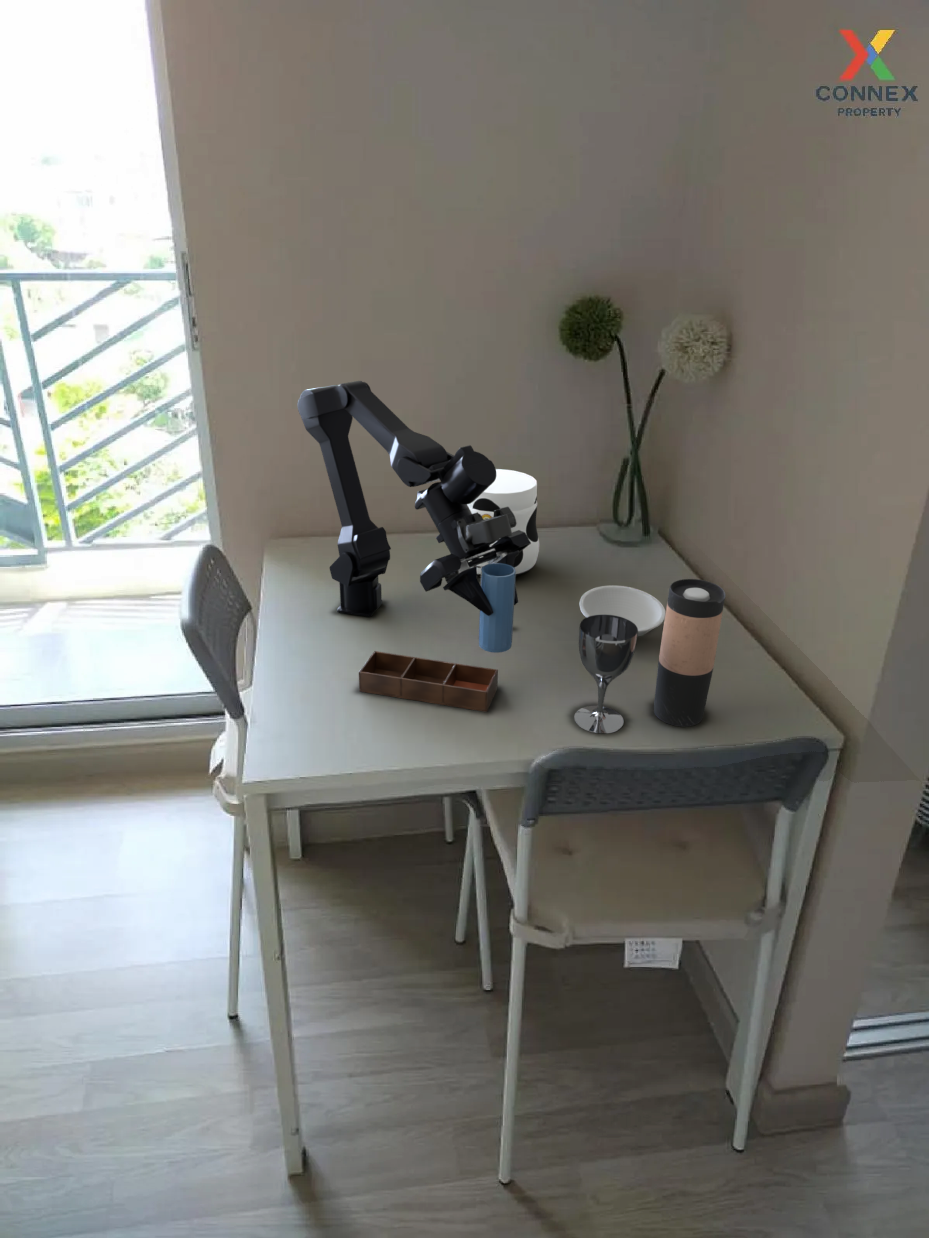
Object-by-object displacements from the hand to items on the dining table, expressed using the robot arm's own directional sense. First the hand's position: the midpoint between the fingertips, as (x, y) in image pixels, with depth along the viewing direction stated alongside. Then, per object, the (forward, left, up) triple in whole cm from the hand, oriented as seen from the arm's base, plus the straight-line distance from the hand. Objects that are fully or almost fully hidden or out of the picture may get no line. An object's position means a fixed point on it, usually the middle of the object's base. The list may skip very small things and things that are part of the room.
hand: (503, 609), depth 130 cm
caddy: (-10, -6, -12) cm, 17 cm away
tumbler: (-1, +1, -7) cm, 7 cm away
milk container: (-11, +43, -13) cm, 46 cm away
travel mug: (+27, -1, -13) cm, 30 cm away
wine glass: (+16, -6, -13) cm, 21 cm away
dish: (+16, +22, -13) cm, 30 cm away
